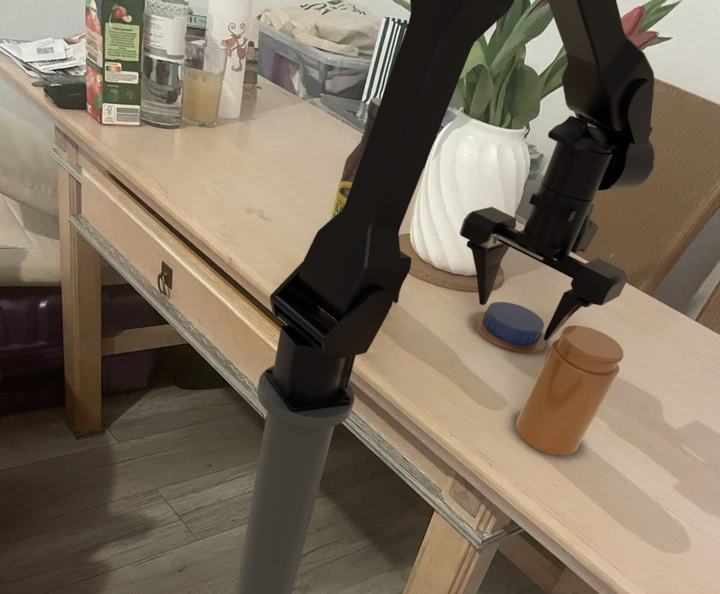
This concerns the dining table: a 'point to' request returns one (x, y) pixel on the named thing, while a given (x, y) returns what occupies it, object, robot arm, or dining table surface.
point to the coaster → (503, 344)
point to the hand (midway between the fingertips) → (514, 321)
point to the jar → (569, 390)
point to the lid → (513, 323)
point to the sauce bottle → (354, 159)
